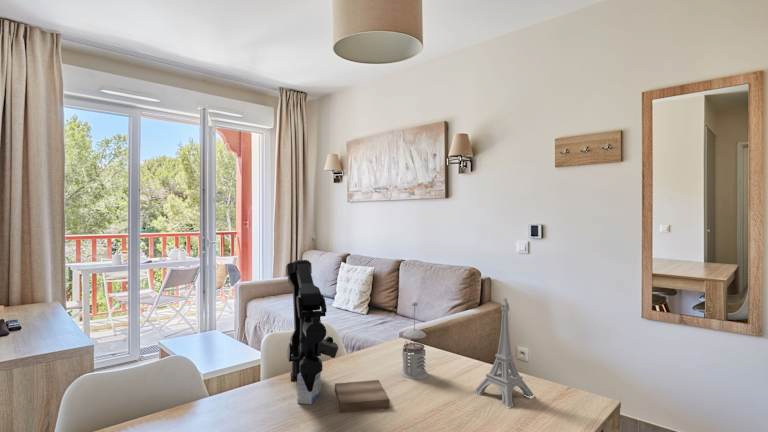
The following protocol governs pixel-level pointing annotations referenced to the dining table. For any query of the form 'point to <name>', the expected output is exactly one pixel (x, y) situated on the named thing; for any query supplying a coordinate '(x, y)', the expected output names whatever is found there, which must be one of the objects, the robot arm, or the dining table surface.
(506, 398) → the eiffel tower
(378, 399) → the walnut block
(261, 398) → the dining table surface
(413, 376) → the french press
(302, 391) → the medicine box
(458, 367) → the dining table surface
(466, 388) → the dining table surface
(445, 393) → the dining table surface
